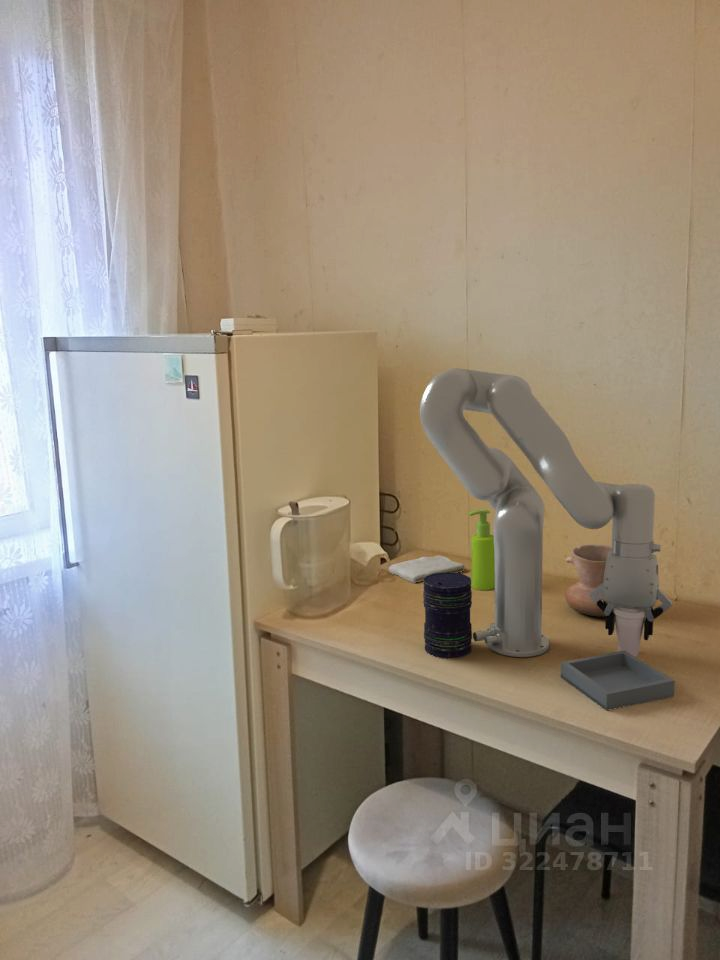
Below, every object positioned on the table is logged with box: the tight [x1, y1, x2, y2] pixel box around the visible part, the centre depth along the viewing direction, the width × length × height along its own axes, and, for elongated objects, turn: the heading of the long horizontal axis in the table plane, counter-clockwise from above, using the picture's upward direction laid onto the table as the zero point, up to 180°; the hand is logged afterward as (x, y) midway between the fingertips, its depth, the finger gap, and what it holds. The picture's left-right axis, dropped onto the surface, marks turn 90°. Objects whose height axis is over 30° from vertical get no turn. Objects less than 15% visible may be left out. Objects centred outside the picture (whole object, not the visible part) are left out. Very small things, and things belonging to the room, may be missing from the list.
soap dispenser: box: [467, 509, 495, 591], centre depth 196 cm, size 6×7×20 cm
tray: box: [560, 651, 676, 711], centre depth 141 cm, size 14×14×3 cm
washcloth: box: [388, 555, 465, 584], centre depth 211 cm, size 12×18×3 cm, turn 122°
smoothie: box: [613, 604, 646, 658], centre depth 154 cm, size 6×6×14 cm
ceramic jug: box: [564, 544, 616, 618], centre depth 177 cm, size 18×14×14 cm
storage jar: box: [422, 572, 473, 660], centre depth 159 cm, size 10×10×15 cm
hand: (628, 634), depth 155 cm, fingers closed on smoothie, 6 cm apart
